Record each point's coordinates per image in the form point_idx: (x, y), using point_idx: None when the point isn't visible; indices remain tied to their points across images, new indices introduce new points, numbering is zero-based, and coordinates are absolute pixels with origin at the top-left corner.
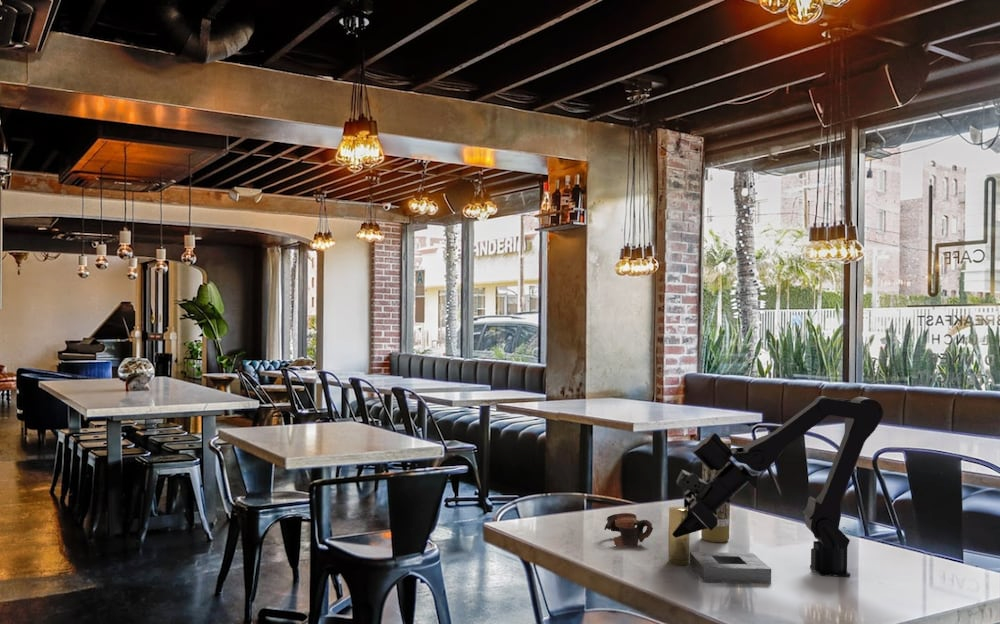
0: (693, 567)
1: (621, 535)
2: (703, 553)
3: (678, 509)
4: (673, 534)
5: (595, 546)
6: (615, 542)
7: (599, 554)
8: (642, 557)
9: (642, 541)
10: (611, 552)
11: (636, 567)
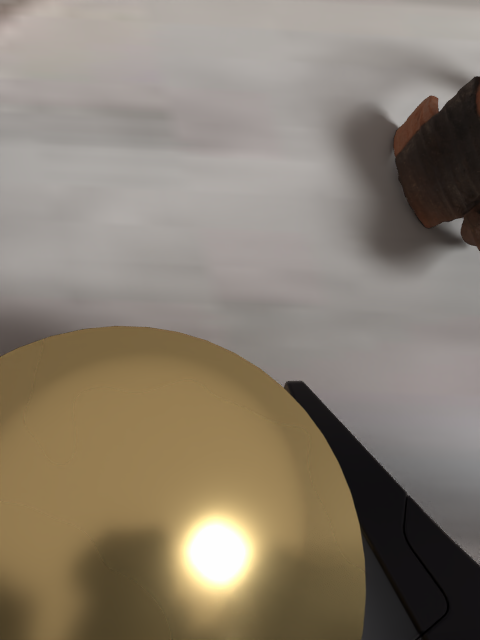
0: None
1: (432, 116)
2: None
3: (31, 557)
4: None
5: (368, 48)
6: (409, 117)
7: (240, 57)
8: (239, 242)
9: (471, 244)
10: (289, 108)
11: (51, 205)
